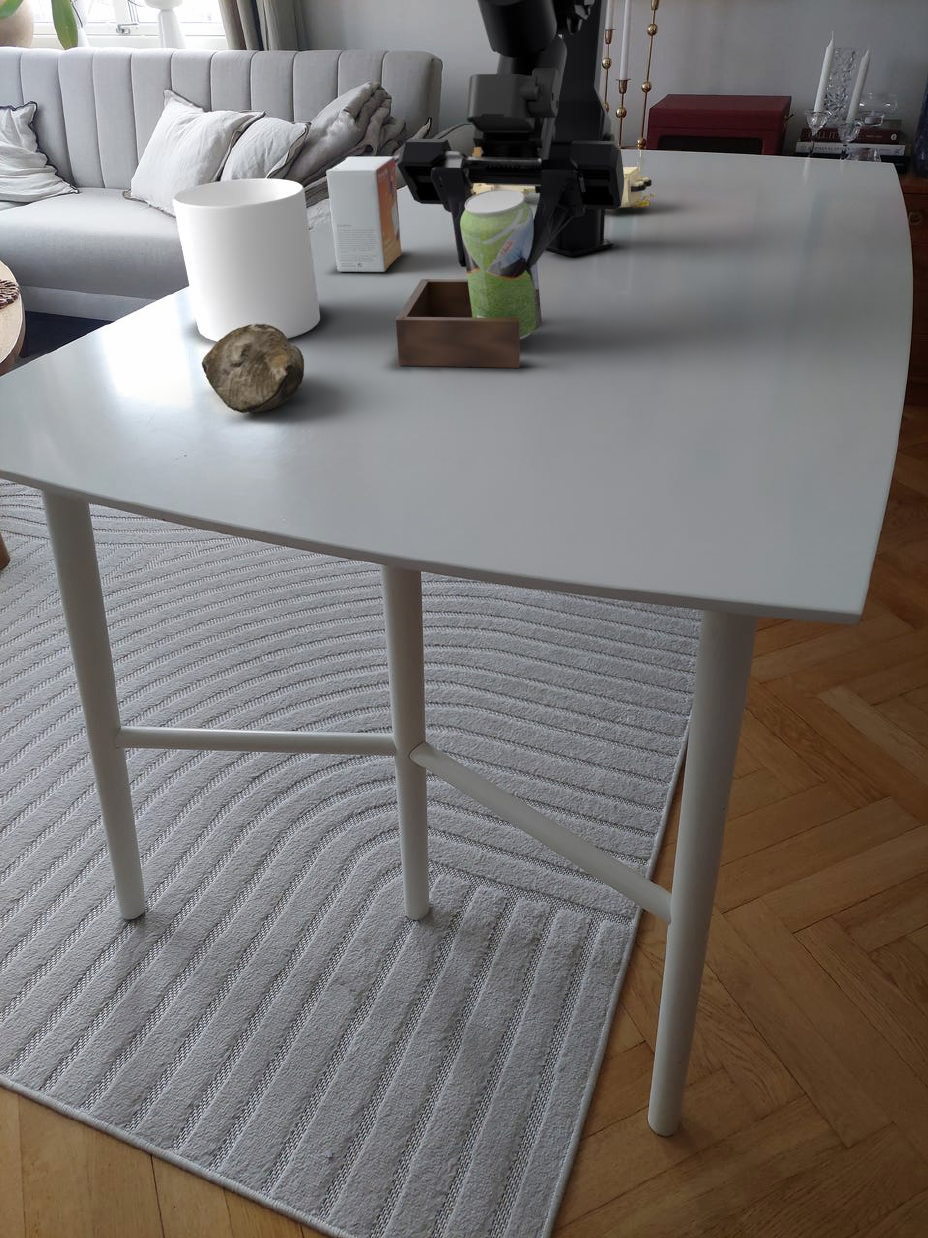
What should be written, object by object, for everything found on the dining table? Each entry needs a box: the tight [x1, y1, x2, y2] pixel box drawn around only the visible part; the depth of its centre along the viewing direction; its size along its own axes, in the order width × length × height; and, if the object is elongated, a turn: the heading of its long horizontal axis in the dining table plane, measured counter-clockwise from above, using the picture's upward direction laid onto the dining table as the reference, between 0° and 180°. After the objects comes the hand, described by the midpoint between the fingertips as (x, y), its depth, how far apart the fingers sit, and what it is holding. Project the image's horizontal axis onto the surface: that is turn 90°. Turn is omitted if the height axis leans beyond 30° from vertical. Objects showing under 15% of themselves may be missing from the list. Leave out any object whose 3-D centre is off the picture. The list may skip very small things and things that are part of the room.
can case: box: [395, 278, 521, 369], centre depth 86 cm, size 10×12×4 cm
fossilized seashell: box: [201, 324, 305, 414], centre depth 77 cm, size 8×7×10 cm
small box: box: [325, 156, 402, 273], centre depth 106 cm, size 8×6×10 cm
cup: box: [172, 177, 321, 343], centre depth 90 cm, size 12×12×12 cm
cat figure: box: [471, 146, 656, 209], centre depth 126 cm, size 10×9×25 cm
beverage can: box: [460, 189, 542, 340], centre depth 82 cm, size 6×7×12 cm
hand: (494, 265), depth 81 cm, fingers closed on beverage can, 5 cm apart
